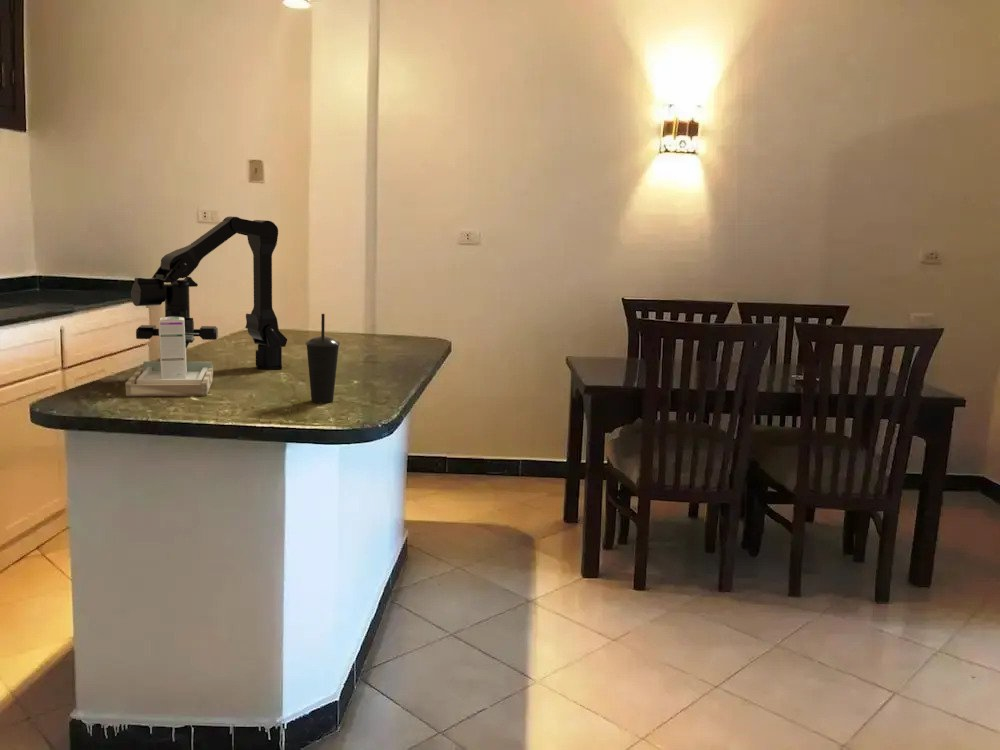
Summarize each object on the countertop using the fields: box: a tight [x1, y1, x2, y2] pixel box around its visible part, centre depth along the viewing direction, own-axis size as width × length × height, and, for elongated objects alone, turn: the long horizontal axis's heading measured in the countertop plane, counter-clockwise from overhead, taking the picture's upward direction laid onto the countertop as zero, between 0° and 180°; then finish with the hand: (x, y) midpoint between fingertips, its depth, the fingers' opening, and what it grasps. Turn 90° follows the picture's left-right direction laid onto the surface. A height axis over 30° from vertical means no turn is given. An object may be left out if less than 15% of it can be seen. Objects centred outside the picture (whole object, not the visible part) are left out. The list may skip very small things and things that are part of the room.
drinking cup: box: [305, 313, 341, 404], centre depth 186 cm, size 8×8×20 cm
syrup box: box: [157, 316, 187, 379], centre depth 195 cm, size 6×6×14 cm
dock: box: [125, 367, 214, 397], centre depth 194 cm, size 19×17×3 cm
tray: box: [136, 360, 213, 384], centre depth 198 cm, size 18×16×3 cm
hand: (178, 366), depth 208 cm, fingers closed
